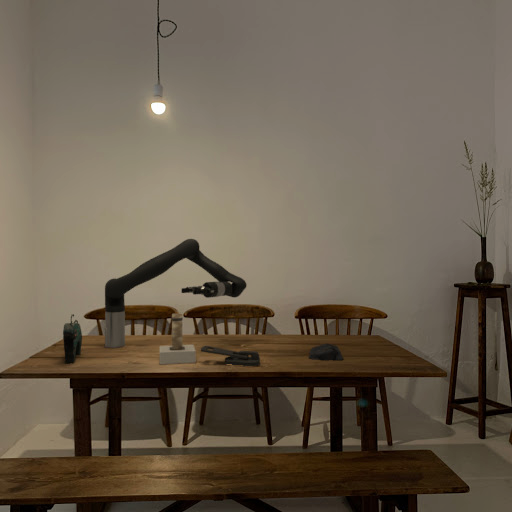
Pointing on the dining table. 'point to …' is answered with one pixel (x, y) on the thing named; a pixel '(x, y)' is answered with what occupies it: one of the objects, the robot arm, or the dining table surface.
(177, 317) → the beech dowel
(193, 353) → the well block
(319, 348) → the dark slate chunk
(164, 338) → the dining table surface
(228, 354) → the zipper pull
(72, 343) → the ceramic cat
